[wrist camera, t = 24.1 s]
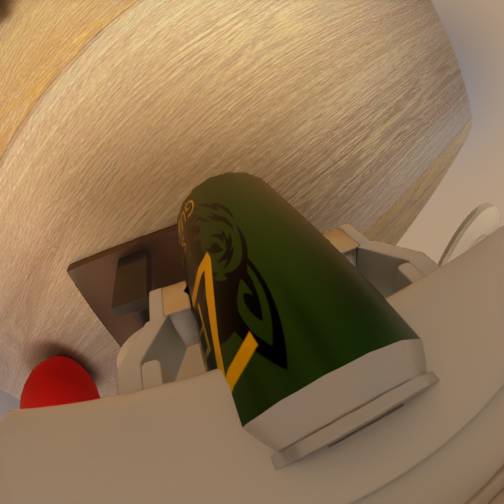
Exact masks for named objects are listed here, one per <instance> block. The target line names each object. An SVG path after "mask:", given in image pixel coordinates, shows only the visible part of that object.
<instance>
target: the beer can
mask: <svg viewBox="0 0 504 504" xmlns="http://www.w3.org/2000/svg"><path fill="white" fill-rule="evenodd" d="M177 221H178V240H179V246H180V252H181V258H182V264H183V269H184V275H185V280H187V285H188V294H189V296H190V300H191V305H192V311H193V320H194V325H195V329H196V334H197V338H198V343H199V347H200V351H201V355H202V359H203V364H204V368H205V372H208V371H211V370H214V369H220V370H221V371H222V373H223V375H224V377H225V379H226V381H227V383H228V385H229V387H230V390H231V394H232V397H233V400H234V403H235V406H236V409H237V412H238V415H239V419H240V422H241V425H242V428H243V429H245V430H246V431H247V432H249V433H250V434H251V435H252V436H254V437H255V438H256V439H258V440H259V441H260V442H262V443H263V444H265V445H266V446H268V447H270V448H272V449H274V450H276V451H278V452H280V453H278V454H276V455H274V456H272V457H270V458H271V461H272V463H273V466H274V468H275V470H276V469H279V468H282V467H285V466H288V465H290V464H293V463H296V462H298V461H300V460H302V459H304V458H305V457H307V456H309V455H311V454H313V453H315V452H316V451H318V450H320V449H322V448H324V447H326V446H328V447H332V446H334V445H336V444H338V443H340V442H342V441H344V440H346V439H348V438H350V437H352V436H354V435H356V434H357V433H359V432H361V431H363V430H365V429H367V428H368V427H370V426H372V425H374V424H375V423H377V422H379V421H380V420H382V419H384V418H385V417H387V416H389V415H390V414H392V413H393V412H395V411H397V410H398V409H400V408H401V407H403V406H404V405H403V403H404V402H406V401H407V400H409V399H411V398H412V397H414V396H416V395H418V394H420V393H422V392H424V391H426V390H428V389H429V388H430V387H432V386H433V385H434V384H436V383H437V382H438V381H439V378H438V377H437V376H436V375H435V373H434V372H433V371H432V372H429V373H426V360H425V354H424V348H423V342H422V340H421V339H420V337H419V336H418V335H417V334H416V333H415V332H414V331H413V329H412V328H411V327H410V326H409V325H408V324H407V323H406V322H405V320H404V319H403V318H402V317H401V316H400V315H399V314H398V313H397V312H396V310H395V309H394V308H393V307H392V306H391V305H390V304H389V303H388V302H387V300H386V299H385V298H384V297H383V295H382V294H381V293H380V292H379V291H378V290H377V289H376V288H375V287H374V286H373V285H372V284H371V283H370V282H369V281H368V280H367V279H366V278H365V277H364V276H363V275H362V273H361V272H360V271H359V270H358V269H357V268H356V267H355V266H354V265H353V264H352V263H351V262H350V261H349V260H348V259H347V258H346V257H345V256H344V255H343V254H342V253H341V252H340V251H339V250H338V249H337V248H336V247H335V246H334V245H333V244H332V243H331V242H330V241H328V240H327V239H326V238H325V237H324V236H323V235H322V234H321V233H320V232H319V231H318V230H317V229H316V228H315V227H314V226H313V225H312V224H311V223H310V222H309V221H308V220H306V219H305V218H304V217H303V216H302V215H301V214H300V213H299V212H298V211H297V210H296V209H295V208H294V207H292V206H291V205H290V204H289V203H288V202H287V201H286V200H285V199H284V198H283V197H281V196H280V195H279V194H278V193H277V192H276V191H275V190H274V189H273V188H271V187H270V186H269V185H268V184H267V183H265V182H264V181H263V180H262V179H261V178H258V177H255V176H253V175H250V174H247V173H231V172H227V173H224V174H220V175H217V176H214V177H211V178H208V179H207V180H206V181H204V182H203V183H201V184H200V185H198V186H197V187H196V188H194V189H193V190H192V192H191V193H190V194H189V196H188V197H187V198H186V200H185V201H184V202H183V204H182V207H181V210H180V213H179V216H178V219H177Z"/></svg>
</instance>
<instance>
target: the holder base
mask: <svg viewBox="0 0 504 504" xmlns="http://www.w3.org/2000/svg"><path fill="white" fill-rule="evenodd" d="M67 272H68V274H69V275H70V277H71V279H72V280H73V282H74V283H75V285H76V286H77V288H78V289H79V291H80V292H81V294H82V295H83V297H84V298H85V300H86V301H87V303H88V304H89V305H90V307H91V308H92V310H93V311H94V312H95V314H96V315H97V317H98V318H99V319H100V321H101V322H102V323H103V325H104V326H105V327H106V329H107V330H108V331H109V332H110V334H111V335H112V336H113V337H114V339H115V340H116V341H117V342H118V344H119V345H120V346H121V347H122V346H123V344H124V343H125V342H126V341H127V339H128V338H129V337H130V336H132V335H133V334H134V333H135V332H137V331H138V330H140V329H141V328H142V327H141V326H140V324H139V323H138V321H137V320H136V318H135V317H134V315H133V314H132V313H133V312H136V311H139V310H142V309H145V308H148V307H149V293H150V291H153V290H156V289H159V288H162V287H165V286H168V285H171V284H174V283H178V282H181V281H184V280H185V275H184V269H183V264H182V258H181V252H180V246H179V240H178V224H177V225H175V226H172V227H169V228H166V229H163V230H160V231H158V232H155V233H152V234H149V235H146V236H144V237H141V238H138V239H136V240H133V241H130V242H127V243H125V244H122V245H120V246H117V247H114V248H112V249H109V250H107V251H104V252H101V253H99V254H96V255H94V256H91V257H89V258H86V259H84V260H81V261H79V262H76V263H74V264H72V265H69V267H68V270H67Z"/></svg>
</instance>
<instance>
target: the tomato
mask: <svg viewBox="0 0 504 504" xmlns="http://www.w3.org/2000/svg"><path fill="white" fill-rule="evenodd" d="M95 399H100V396H99V393H98V391H97V388H96V386H95V384H94V382H93V380H92V378H91V377H90V375H89V374H88V373H87V372H86V370H85V369H84V368H83V367H82V366H81V365H80V364H78V363H77V362H76V361H74V360H73V359H71V358H69V357H65V356H55V357H51V358H49V359H47V360H45V361H43V362H41V363H40V364H39V365H38V366H37V367H36V368H35V369H34V370H33V371H32V372H31V374H30V375H29V377H28V379H27V381H26V383H25V385H24V388H23V391H22V394H21V401H20V409H29V408H39V407H48V406H56V405H64V404H71V403H77V402H83V401H89V400H95Z"/></svg>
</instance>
